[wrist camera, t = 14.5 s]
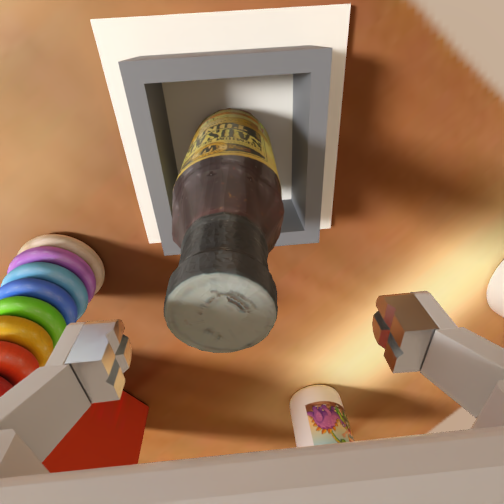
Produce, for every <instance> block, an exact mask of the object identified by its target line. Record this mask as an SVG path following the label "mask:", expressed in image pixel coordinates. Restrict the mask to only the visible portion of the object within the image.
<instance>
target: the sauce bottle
mask: <svg viewBox="0 0 504 504" xmlns="http://www.w3.org/2000/svg"><path fill="white" fill-rule="evenodd" d="M283 217H284V206H283V202H282V190H281V185H280V180H279V176H278V172H277V168H276V163H275V159H274V155H273V151H272V147H271V142H270V138H269V135H268V133H267V131H266V129H265V128H264V126H263V125H262V124H261V122H260V121H259V120H258V119H257V118H255V117H254V116H253V115H252V114H251V113H250V112H248V111H244V110H240V109H231V108H228V109H222V110H218V111H217V112H215V113H213V114H211V115H210V116H208V117H207V118H206V119H205V120H203V121H202V123H201V124H200V125H199V127H198V128H197V130H196V133H195V135H194V137H193V140H192V142H191V144H190V147H189V150H188V152H187V154H186V157H185V159H184V162H183V164H182V167H181V170H180V172H179V174H178V177H177V180H176V182H175V184H174V188H173V203H172V237H173V241H174V242H175V243H176V244H177V245H178V247H179V248H180V249H181V257H180V261H179V266H178V267H177V269H176V270H175V271H174V272H173V273H172V275H171V277H170V279H169V283H168V287H167V291H166V297H165V302H164V317H165V320H166V322H167V326H168V328H169V329H170V330H171V332H172V333H173V334H174V335H175V336H176V337H177V338H178V339H179V340H181V341H182V342H184V343H186V344H187V345H189V346H191V347H195V348H197V349H199V350H202V351H208V352H213V353H227V352H235V351H238V350H242V349H245V348H249V347H252V346H254V345H256V344H257V343H259V342H260V341H262V340H263V339H264V338H265V337H266V336H267V335H268V334H269V332H270V330H271V329H272V328H273V326H274V323H275V321H276V319H277V311H278V310H277V308H278V306H277V290H276V285H275V283H274V281H273V279H272V275H271V274H270V273H269V270H268V264H267V257H268V253H269V252H270V251H271V250H272V249H273V248H274V246H275V244H276V242H277V240H278V238H279V236H280V232H281V226H282V222H283Z"/></svg>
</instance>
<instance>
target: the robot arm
mask: <svg viewBox="0 0 504 504" xmlns="http://www.w3.org/2000/svg"><path fill="white" fill-rule="evenodd" d="M487 301H488V304H489V306H490V307H491V309H492V310H493V311H494V312H496V313H497V314H499V315H500V316H502V317H504V260H503V261H502V262H501V263H500V265H499V266H498V267H497V269H496V270H495V272H494V273H493V275H492V277H491V279H490V282H489V284H488V288H487ZM376 307H377V308H378V310H379V311H378V312H376V313H375V314H374V316H373V322H372V325H373V333H374V336H375V339H376V341H377V343H378V344H379V345H380V346H382V347H383V348H385V353H384V357H385V359H386V361H387V363H388V365H389V367H390V369H391V371H392V372H393V373H402V372H417V371H420V373H421V374H422V375H424V376H425V377H426V378H427V379H429V380H430V381H431V382H432V383H434V384H435V385H436V386H437V387H438V388H440V389H441V390H442V391H443V392H445V393H446V394H447V395H448V396H449V397H451V398H452V399H453V400H454V401H456V402H457V403H458V404H459V405H461V406H462V407H463V408H464V409H465V410H467V411H468V412H469V413H470V414H472V415H473V416H474V417H475V418H477V419H476V421H475V422H474V424H473V426H472V428H471V429H468V430H459V431H449V432H440V433H431V434H420V435H411V436H401V437H391V438H382V439H372V440H363V441H353V442H343V443H334V444H324V445H315V446H305V447H296V448H286V449H276V450H267V451H257V452H248V453H238V454H229V455H219V456H210V457H200V458H191V459H181V460H171V461H162V462H152V463H143V464H133V465H123V466H114V467H104V468H94V469H85V470H75V471H65V472H56V473H50V472H49V471H48V470H47V468H46V467H45V466H44V465H43V464H42V462H43V461H44V460H45V458H46V457H47V456H48V455H49V454H50V453H51V451H52V450H53V449H54V448H55V447H56V446H57V445H58V443H59V442H60V441H61V440H62V439H63V438H64V436H65V435H66V434H67V433H68V432H69V431H70V429H71V428H72V427H73V426H74V425H75V424H76V422H77V421H78V420H79V419H80V418H81V417H82V415H83V414H84V413H85V412H86V411H87V410H88V408H89V407H90V406H91V403H99V402H107V401H115V400H120V398H121V394H122V391H123V387H124V384H125V378H124V375H123V373H124V372H125V371H126V370H127V369H128V368H129V366H130V362H131V354H132V349H131V343H130V340H129V338H128V337H127V336H125V335H124V334H123V332H124V329H125V327H124V325H123V322H122V320H119V319H117V320H102V321H87V322H78V323H70V324H69V325H67V326H66V328H65V329H64V331H63V333H62V335H61V337H60V339H59V341H58V342H57V344H56V346H55V348H54V350H53V352H52V353H51V355H50V357H49V359H48V361H47V363H46V364H45V366H44V367H39V368H37V369H36V370H35V371H33V372H32V373H31V374H30V375H28V376H27V377H26V378H24V379H23V380H22V381H20V382H19V383H18V384H17V385H15V386H14V387H13V388H11V389H10V390H9V391H7V392H6V393H5V394H4V395H2V396H1V397H0V504H504V348H502V347H500V346H498V345H496V344H494V343H492V342H490V341H488V340H487V339H485V338H483V337H481V336H479V335H477V334H475V333H473V332H471V331H469V330H467V329H465V328H464V327H459V328H458V327H457V326H456V324H455V323H454V322H453V321H452V319H451V318H450V317H449V316H448V315H447V313H446V312H445V311H444V310H443V308H442V307H441V306H440V305H439V303H438V302H437V301H436V300H435V299H434V297H433V296H432V295H431V294H430V293H429V292H427V291H420V292H411V293H402V294H392V295H382V296H379V297H378V298H377V301H376Z"/></svg>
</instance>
